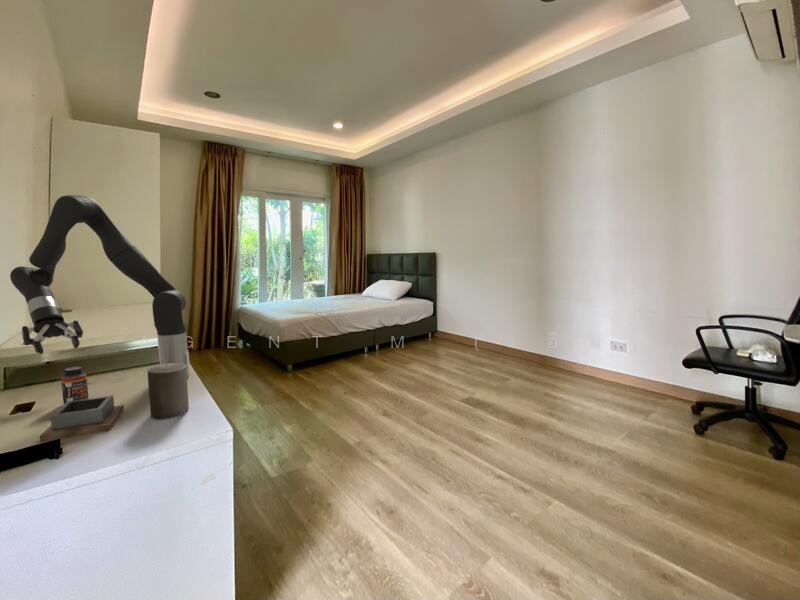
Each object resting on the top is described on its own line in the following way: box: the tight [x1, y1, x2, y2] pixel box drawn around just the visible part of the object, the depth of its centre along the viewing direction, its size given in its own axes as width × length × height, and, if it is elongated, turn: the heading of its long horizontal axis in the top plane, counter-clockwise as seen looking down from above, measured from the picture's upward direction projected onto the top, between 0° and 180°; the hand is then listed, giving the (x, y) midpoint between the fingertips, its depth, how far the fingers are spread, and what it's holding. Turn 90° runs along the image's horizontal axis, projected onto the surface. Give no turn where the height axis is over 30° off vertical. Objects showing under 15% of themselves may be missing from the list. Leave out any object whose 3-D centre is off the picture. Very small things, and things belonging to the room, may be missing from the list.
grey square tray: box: [50, 395, 115, 431], centre depth 98 cm, size 10×10×4 cm
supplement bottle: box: [60, 366, 90, 405], centre depth 112 cm, size 6×6×11 cm
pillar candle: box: [147, 363, 190, 420], centre depth 105 cm, size 10×10×15 cm
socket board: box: [39, 405, 125, 442], centre depth 98 cm, size 14×14×2 cm
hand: (59, 349), depth 117 cm, fingers open, 8 cm apart
